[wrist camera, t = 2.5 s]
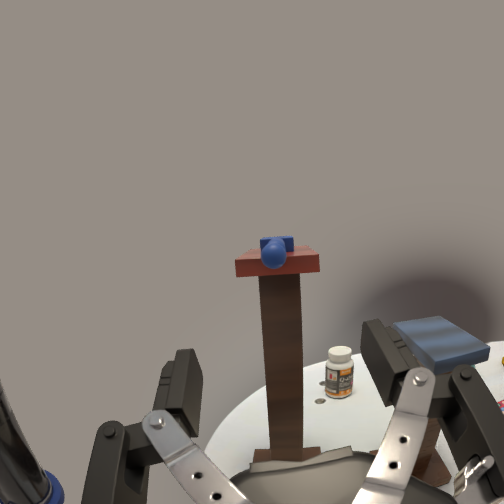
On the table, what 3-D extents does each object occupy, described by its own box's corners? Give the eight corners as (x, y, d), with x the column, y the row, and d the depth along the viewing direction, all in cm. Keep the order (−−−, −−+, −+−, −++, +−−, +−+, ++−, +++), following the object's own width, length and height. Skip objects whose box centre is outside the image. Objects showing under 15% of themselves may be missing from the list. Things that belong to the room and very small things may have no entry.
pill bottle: (343, 401, 51) (345, 358, 51) (319, 395, 55) (320, 353, 55) (356, 389, 55) (359, 347, 55) (333, 383, 59) (334, 343, 59)
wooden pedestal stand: (325, 502, 26) (336, 252, 24) (247, 505, 28) (217, 260, 25) (319, 448, 38) (319, 244, 36) (256, 451, 39) (237, 250, 37)
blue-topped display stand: (451, 487, 22) (500, 343, 20) (383, 507, 23) (421, 364, 21) (424, 440, 34) (448, 313, 32) (366, 453, 35) (382, 323, 33)
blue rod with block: (302, 268, 17) (301, 242, 16) (245, 272, 17) (243, 245, 17) (292, 248, 33) (291, 234, 33) (263, 250, 34) (262, 236, 33)
